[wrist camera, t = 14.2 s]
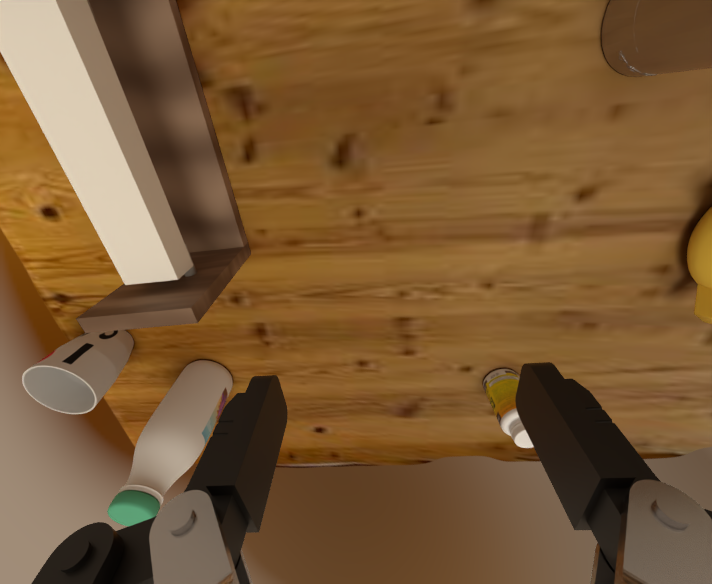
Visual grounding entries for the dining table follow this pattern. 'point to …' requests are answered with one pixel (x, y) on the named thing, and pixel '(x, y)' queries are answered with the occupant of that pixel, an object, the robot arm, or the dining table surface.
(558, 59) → the dining table surface
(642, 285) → the dining table surface
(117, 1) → the shelf frame
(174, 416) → the milk bottle
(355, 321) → the dining table surface
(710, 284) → the teapot
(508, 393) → the supplement bottle
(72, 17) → the shelf board
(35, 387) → the cup
